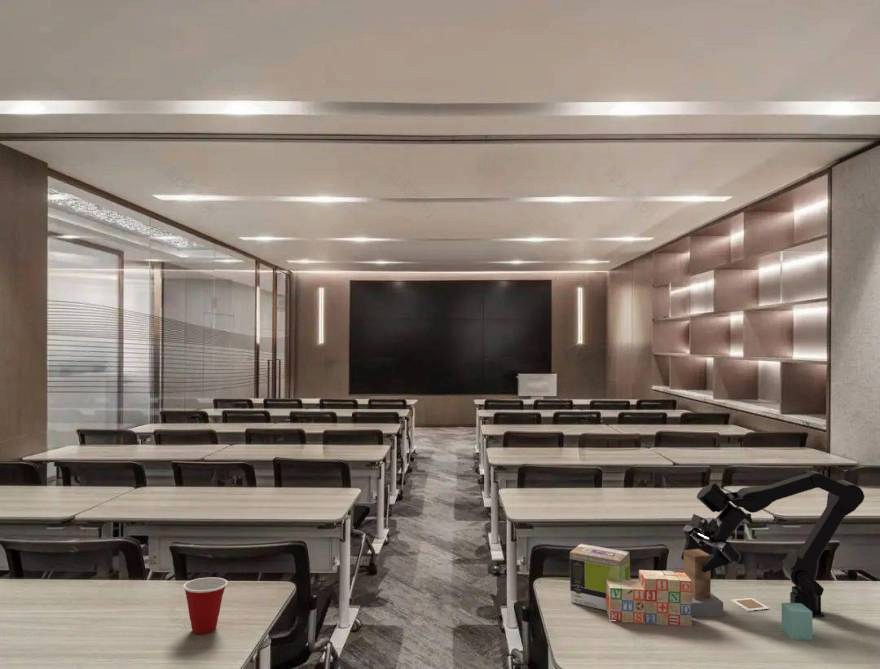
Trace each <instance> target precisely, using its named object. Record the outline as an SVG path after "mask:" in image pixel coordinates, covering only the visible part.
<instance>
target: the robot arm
mask: <svg viewBox="0 0 880 669" xmlns="http://www.w3.org/2000/svg"><path fill="white" fill-rule="evenodd" d="M817 488H818V489H820V490H822V491H826V492H827V493H828V494H827V498H826V507H825V508H824V510H823V512H822V513H821V515H820V516H819V518H818V519H817V522H816V524H815V525H814V527H813V528H812V529H811V532H810V533H809V534H808V537H807V538H806V540H805V541H804V543H803V544H802V546H801V548H800V549H798V550H796V551H795V552H794V551H793V550H791V549H789V550H788V553H787V554H786V557H785V558H784V559H782V563H783V564H782V570H783V573H784V574H785V576H786V577H787V578H788V579H789V580H790V581H791V583H792V584H793V585H792V586H791V591H790V592H789V595H790V596H789V597H790V599H789V600H790V601H789V603H801V604H803V605H804V606H805V607H807V608H808V609H809V610H810V611H812V617H825V616H826V615H825V613H823V612H822V596H823V594H824V592H825V590H824V589H825V588H824V587H823V586H822V585H820V583H818V582H817V581H816V579H815V578H816V576H817V573H818V565H819V559H820V558H821V557H822V556H821V555H822V554H823V553H824V551H825V550H826V548H827V546H828V544H829V543H830V542H831V540H832V539H833V536H834V535H835V533H836V532H837V530H838V529H839V527H840V525H841V524H842V522H843V520H844V518H846V516H848V515H849V514H851V513H852V512H855V510H856V509H857V508H858V507H860V505H861V504H862V503H863V502H864V500H865V494H864V491H863V490H862V488H861V487H859V486H858V485H856V484H853V483H852V482H850V481H847V480H844V479H838V480H835V479H834V478H831V477H829V476H826V475H824V474H821V473H820V472H817V471H816V470H809V471H808V472H806V473H802V474H798V475H796V476H793V477H790V478H787V479H784V480H781V481H778V482H774V483H771V484H768V485H760V486H759V485H758V486H756V485H755V486H754V485H753V486H746V487H742V488H740V489H738V491H733V492H732V491H731V492H725V491H724V490H722V489H721V488H720V486H719V485H718V484H716V483H715V481H713V482H710V484H707V485H706V486H704V487H702V488H701V489H699V490H700V491H699V492H697V494H696V498H697V499H698V501H700V503H701V504H703V505H704V506H706V508H707V509H708V510H710V512H712V513H715V512H717V513H718V515H717V516H716V517H715V518H714V517H707V518H704V517H702V516H700V515H697V514H695V513H693V514H692V516H691V520H690V523H689V524H688V523H687V524H685V525H684V527H683V528H682V531H683V534H684V535H685V539H686V540H685V545H684V547H683V550H682V553H681V557H680V559H681V560H682V561H684V550H692V549H700V550H702V549H703V547H702V546H705V545H706V544H707V545H708V546H711V554H709V555H710V557H709V558H708V559H707V561H706V562H705V564H704V565H703V567H702V569H701V570H702V571H703V572H707V571H709V570H711V571H712V570H714V569H717V568H720V567H722V566H726V565H729V564H730V565H732V564H736V565H737V563H738V562H739V561H740V560H741V553H740V552H739V551H738V550H737V548H735V547H734V545H733V544H731V543H730V542H729V541H728V540H729V539H730V538H732V539H735V538H736V537H737V536H736V534H735V532H736V530H737V529H738V528H739V527H740V525H741V524H742V523H743V522H744V523H745V524H753V522H754V521H753V519H752V514H753V513H757V512H758V513H759V512H760V511H762V510H764V509H765V508H768V507H769V506H770V505H772V504H773V503H775V502H776V501H778V500H781V499H785V498H788V497H792V496H795V495H797V494H801V493H804V492H807V491H811V490H814V489H817ZM741 508H743V509H744V510H745V511H747V512H745V511H744V510H743V509H741ZM751 513H752V514H751Z"/></svg>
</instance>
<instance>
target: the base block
mask: <svg viewBox="0 0 880 669" xmlns="http://www.w3.org/2000/svg"><path fill="white" fill-rule="evenodd" d="M709 616H711V617H715V616H716V617H717V616H718V617H719V616H724V602H723V601H722V600H721V599H720V598H719V597H717V596H716V595H715V594H714V593H712V592H711V596H710V598H706V599H697V600H695V599H693V598H692V617H709Z"/></svg>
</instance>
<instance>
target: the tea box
mask: <svg viewBox="0 0 880 669" xmlns="http://www.w3.org/2000/svg"><path fill="white" fill-rule="evenodd" d="M630 556H631V555H630V551H627V550H621V549H615V548H609V547H602V546H598V545H597V546H596V545H592V544H591V545H590V544H586V543H579V544H578V545H577V546H576V547H575V548H574V549H572V550H570V551H569V584H570V585H569V589H570V592H569V593H570V596H569V597H570V603H573V604H578V605H581V606H586V607H589V608H594V609H599V610H603V611H606V579H607V580H612V581H617V582H622V581H623V580H628V581H631V559H630V558H631V557H630Z"/></svg>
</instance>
